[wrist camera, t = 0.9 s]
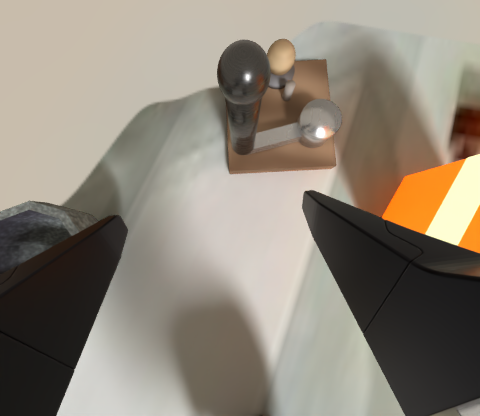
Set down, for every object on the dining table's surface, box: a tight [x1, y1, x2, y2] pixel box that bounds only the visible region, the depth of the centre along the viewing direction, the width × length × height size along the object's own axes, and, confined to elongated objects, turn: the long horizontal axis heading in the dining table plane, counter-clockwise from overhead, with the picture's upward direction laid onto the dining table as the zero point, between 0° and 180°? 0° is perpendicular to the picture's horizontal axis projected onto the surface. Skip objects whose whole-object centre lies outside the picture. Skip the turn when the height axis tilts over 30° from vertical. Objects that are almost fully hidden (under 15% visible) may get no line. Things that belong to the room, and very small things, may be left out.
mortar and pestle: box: [0, 201, 121, 275], centre depth 15 cm, size 11×9×12 cm
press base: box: [226, 39, 336, 174], centre depth 20 cm, size 13×12×5 cm
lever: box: [217, 40, 342, 155], centre depth 15 cm, size 4×12×12 cm, turn 105°
